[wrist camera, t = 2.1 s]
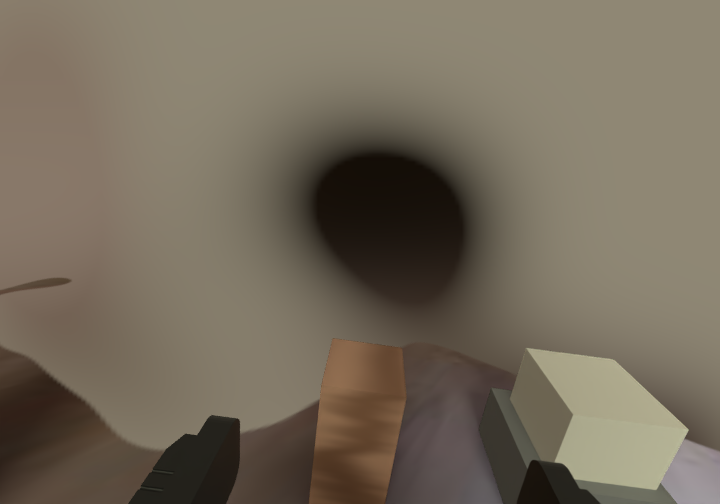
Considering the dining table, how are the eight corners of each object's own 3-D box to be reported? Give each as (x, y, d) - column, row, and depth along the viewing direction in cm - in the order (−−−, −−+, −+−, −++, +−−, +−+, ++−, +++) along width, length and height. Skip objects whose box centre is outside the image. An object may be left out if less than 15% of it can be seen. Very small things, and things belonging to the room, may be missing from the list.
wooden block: (308, 506, 24) (321, 384, 20) (320, 444, 28) (332, 338, 25) (382, 517, 23) (406, 397, 20) (381, 453, 28) (401, 348, 25)
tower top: (548, 475, 23) (573, 414, 21) (509, 399, 29) (525, 347, 28) (656, 490, 23) (688, 429, 21) (592, 409, 29) (613, 359, 28)
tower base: (513, 540, 23) (534, 485, 22) (477, 432, 32) (491, 387, 30) (648, 559, 23) (679, 506, 22) (576, 446, 32) (594, 402, 30)
